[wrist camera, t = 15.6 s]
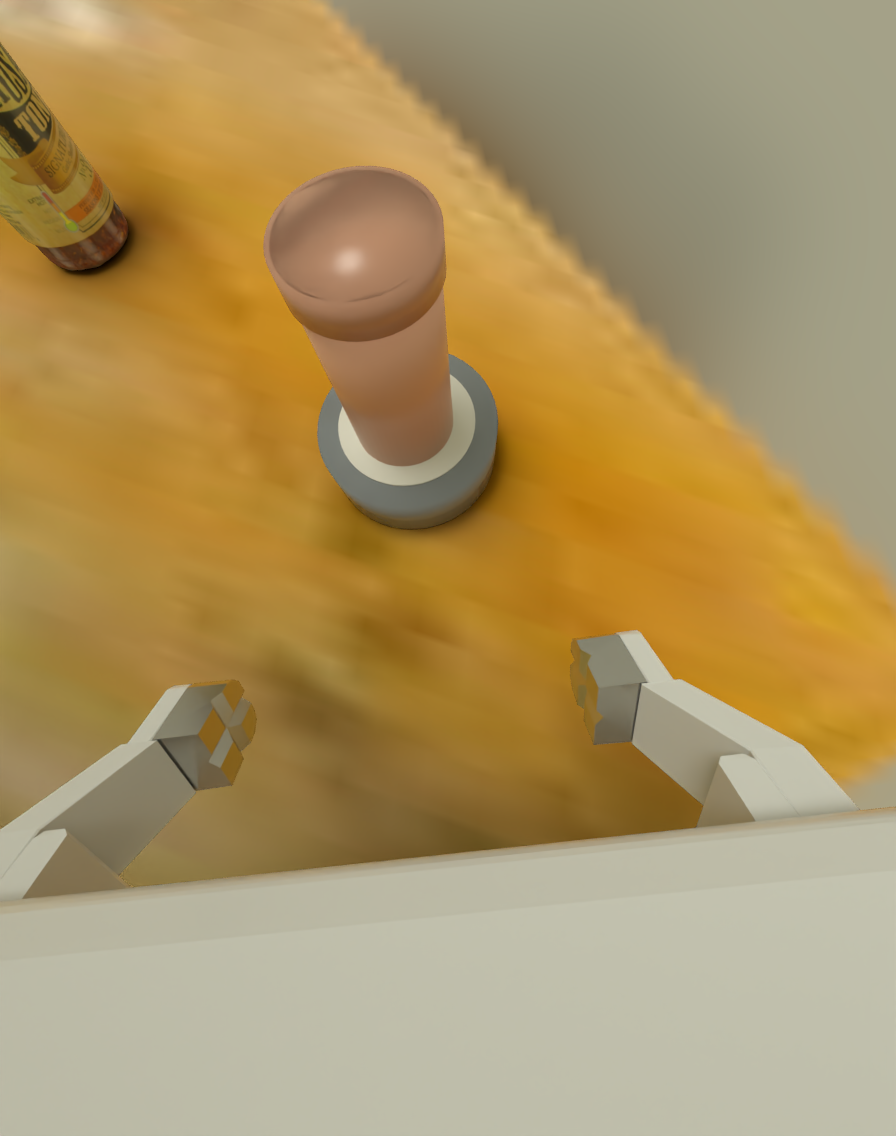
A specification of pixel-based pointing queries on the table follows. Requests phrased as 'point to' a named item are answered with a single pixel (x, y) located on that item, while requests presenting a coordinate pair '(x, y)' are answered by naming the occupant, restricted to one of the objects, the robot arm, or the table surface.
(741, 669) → the table surface
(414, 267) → the tan rounded cylinder
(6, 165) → the sauce bottle
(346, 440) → the pedestal
